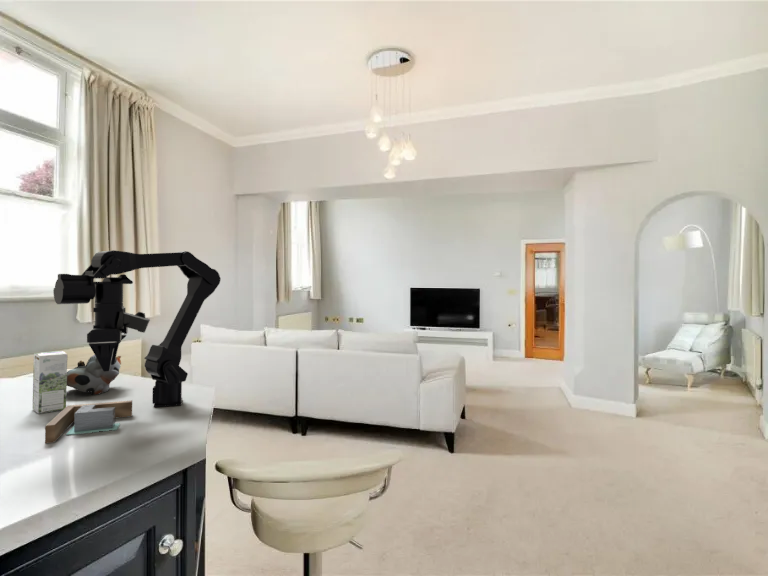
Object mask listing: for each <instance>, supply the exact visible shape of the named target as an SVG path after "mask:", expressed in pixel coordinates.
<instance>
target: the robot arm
mask: <svg viewBox="0 0 768 576" xmlns="http://www.w3.org/2000/svg"><path fill="white" fill-rule="evenodd" d="M163 267H178V268H179V270H180V271H181V273H182V274H183V275H184V277H186V278H188V281H187V283H186V284H187V286H186V289H187V291H186V296H185V298H184V300H183V302H182V304H181V306H180V308H179V310H178V312H177V314H176V315H175V318H174V320H173V322H172V324H171V325H170V327H169V329H168V331H167V332H166V333H167V334H166V335H165V337H164V339H163V341H162V342H161V343H159V344H158V345H157V344H152V345H151V346H150V348H149V351H148V353H147V355H146V356H145V357H144V360H145V361H144V367H145V370H146V372H147V373H148V374H149V375H150V377H151V379H152V380H153V381H155V383H154V385H153V387H152V402H151V403H152V404H153V407H154V408H160V407H161V408H162V407H172V406H173V407H174V406H181V405H182V402H183V396H182V395H183V394H182V393H183V382H186V380H187V378H188V375H189V373H188V372H187V371H185V369H183V368H182V367H181V366H180V363H181V361H182V347H183V344H184V342H185V340H186V339H187V336H188V334H189V333H190V330H191V329H192V327H193V324H194V322H195V320H196V318H197V316H198V314H199V312H200V310H201V308H202V307H203V304H204V302H205V300H207V299H208V298H209V297H210V296H211V295H212V294H213V293H214V292H215V291H216V289H217V288H218V286H219V285H220V283H221V277H220V273H219V271H217V270H216V269H215V268H212V267H210V266H209V265H208V264H206V263H205V262H203V261H202V260H201V259H199V258H197V257H196V256H195V255H194V254H193V253H191V252H190V251H185V250H183V251H177V252H161V253H160V252H158V253H157V252H155V253H134V252H131V251H130V252H129V251H122V250H105V251H103V250H102V251H98V252H96V253H95V254H94V255H93V256H92V258H91V261H90V265H89V266H88V267H87V268H86V269H85V270H83V273H82V274H70V273H58V274H57V279H56V281H55V284H54V288H53V299H54V302H55V303H56V305H78V304H80V305H81V304H89V303H90V302H91V300H94V307H93V308H92V309H93V310H92V312H93V313H94V325H92V328H93V329H91V330H90V331H89V332H88V333H86V343H88V346H89V347H90V349H91V350H92V352H93V355H95V356H96V358H97V360H98V362H99V363H100V365H101V367H102V369H103V371H109V370H110V365H111V364H114V363H115V359H116V357H117V354H118V350H119V346H120V344H121V342H122V341H123V340H124V339H125V338H126V337H127V334H128V333H129V329H131V330H135V331H137V332H140V333H146V330H147V328H148V325H149V323H150V321H151V320H150V318H148V317H146V313H144V312H143V311H138V312H137V313H136V314H133V313H128V312H126V307H125V306H124V285H132V284H133V283H134V281H133V280H131V279H130V278H129V277H128V276H127V275H126V274H124V273H128V272H132V271H136V270H139V269H145V268H146V269H147V268H163ZM110 275H111V277H110ZM112 275H114V276H115V275H119V276H117V277H114V276H113V277H112ZM94 279H103V280H102V281H94Z"/></svg>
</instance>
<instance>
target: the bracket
mask: <svg viewBox="0 0 768 576" xmlns="http://www.w3.org/2000/svg"><path fill="white" fill-rule="evenodd" d="M73 423H74V425H73V426H74V432H79V431H90V430H100V429H110V428H113V427H114V425H115V423H116V418H115V407H110V408H98V409H96V404H94V405H83V406H82V407H81V408H80V409H78V410H77V411H76V412H75V414H74V422H73Z"/></svg>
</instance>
